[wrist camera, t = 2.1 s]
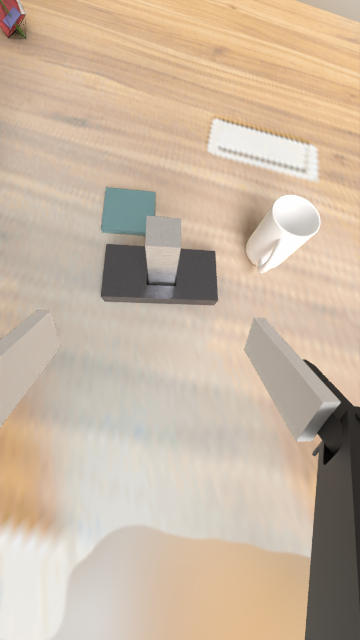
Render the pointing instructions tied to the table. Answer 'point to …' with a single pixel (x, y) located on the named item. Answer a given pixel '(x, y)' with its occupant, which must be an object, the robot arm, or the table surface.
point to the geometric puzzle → (11, 16)
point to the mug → (282, 231)
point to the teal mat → (127, 211)
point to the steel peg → (162, 249)
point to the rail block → (132, 285)
